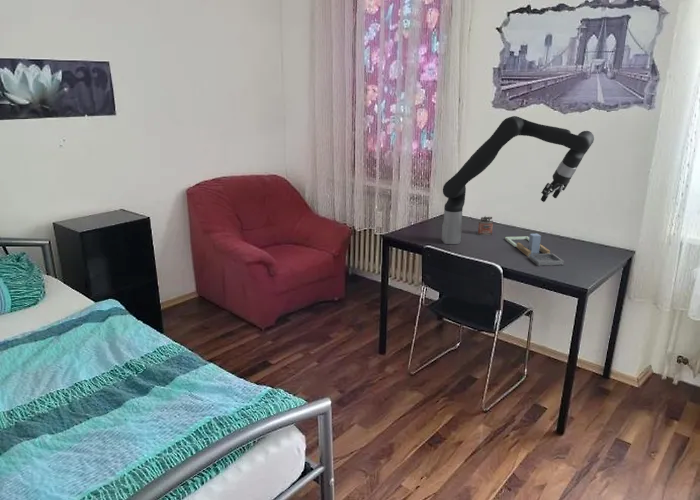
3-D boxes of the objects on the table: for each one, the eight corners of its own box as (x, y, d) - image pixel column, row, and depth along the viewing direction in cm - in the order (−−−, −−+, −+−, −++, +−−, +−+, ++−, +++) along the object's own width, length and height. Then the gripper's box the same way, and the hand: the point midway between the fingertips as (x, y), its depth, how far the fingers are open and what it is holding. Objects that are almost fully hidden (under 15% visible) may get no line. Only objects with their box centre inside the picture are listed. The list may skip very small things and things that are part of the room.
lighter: (478, 235, 283) (479, 217, 280) (476, 233, 286) (478, 216, 283) (493, 235, 283) (494, 217, 280) (491, 233, 286) (492, 215, 283)
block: (531, 253, 253) (533, 236, 250) (527, 250, 257) (529, 233, 254) (539, 253, 254) (541, 235, 251) (535, 250, 257) (537, 233, 254)
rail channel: (527, 256, 249) (528, 251, 248) (516, 247, 262) (516, 242, 262) (549, 255, 250) (550, 250, 249) (537, 246, 263) (537, 242, 262)
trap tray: (538, 266, 236) (538, 261, 236) (528, 258, 247) (528, 254, 246) (563, 265, 237) (564, 261, 237) (552, 257, 248) (553, 253, 247)
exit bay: (514, 246, 263) (514, 244, 263) (505, 239, 276) (505, 236, 275) (537, 246, 264) (538, 243, 264) (527, 238, 277) (527, 236, 276)
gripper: (568, 164, 238) (552, 191, 249) (548, 169, 231) (532, 197, 242) (580, 173, 234) (563, 200, 245) (560, 179, 227) (544, 207, 238)
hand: (548, 199), depth 244 cm, fingers open, 8 cm apart
